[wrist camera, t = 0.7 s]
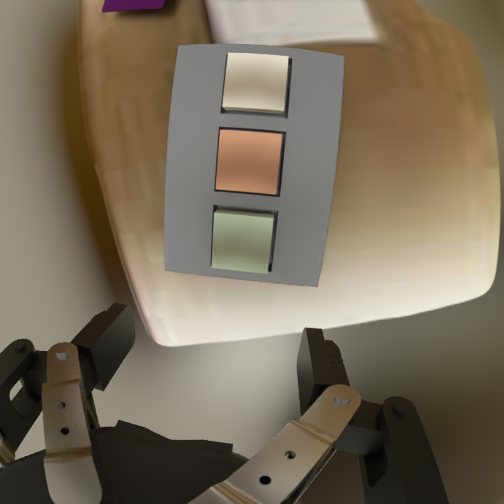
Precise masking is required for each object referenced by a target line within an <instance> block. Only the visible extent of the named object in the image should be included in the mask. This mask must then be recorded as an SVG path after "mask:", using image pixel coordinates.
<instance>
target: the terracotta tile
mask: <svg viewBox="0 0 504 504" xmlns="http://www.w3.org/2000/svg"><path fill="white" fill-rule="evenodd" d="M281 139H282V134H272V133H262V132H249V131H234V130H220V138H219V150H218V163H217V177H216V189H219V190H231V191H243V192H254V193H265V194H275V195H276V191H277V181H278V171H279V161H280V150H281Z"/></svg>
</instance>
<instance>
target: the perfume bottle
mask: <svg viewBox="0 0 504 504" xmlns="http://www.w3.org/2000/svg"><path fill="white" fill-rule="evenodd" d="M165 1H166V0H105V2H104V5H103V8H102V12H113V11H124V10H139V9H161V8H162V7H163V6H164V4H165Z"/></svg>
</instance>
